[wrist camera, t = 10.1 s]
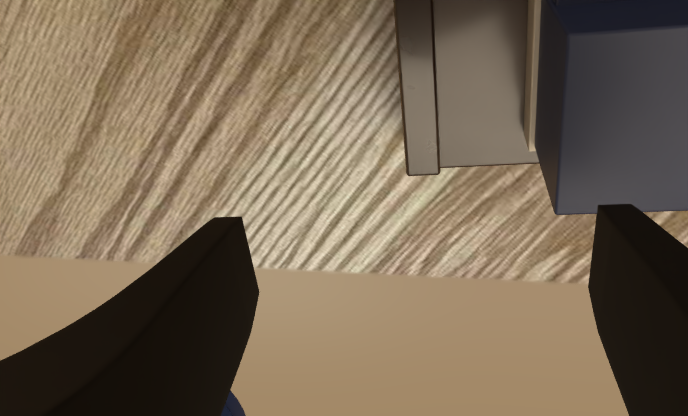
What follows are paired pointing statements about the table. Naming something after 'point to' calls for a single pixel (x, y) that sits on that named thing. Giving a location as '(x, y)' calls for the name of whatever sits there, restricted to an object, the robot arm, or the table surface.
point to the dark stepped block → (609, 102)
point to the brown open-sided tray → (462, 83)
